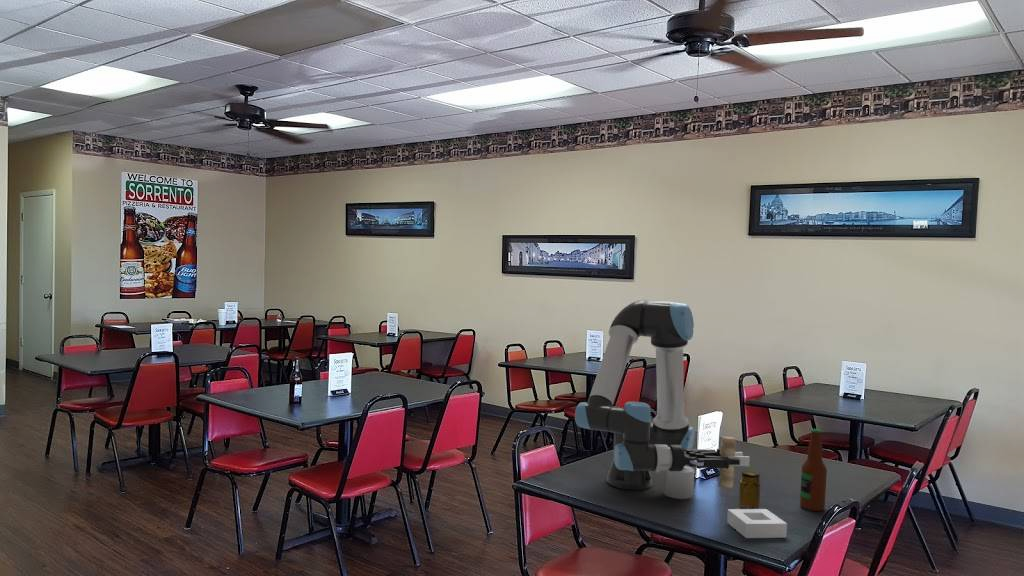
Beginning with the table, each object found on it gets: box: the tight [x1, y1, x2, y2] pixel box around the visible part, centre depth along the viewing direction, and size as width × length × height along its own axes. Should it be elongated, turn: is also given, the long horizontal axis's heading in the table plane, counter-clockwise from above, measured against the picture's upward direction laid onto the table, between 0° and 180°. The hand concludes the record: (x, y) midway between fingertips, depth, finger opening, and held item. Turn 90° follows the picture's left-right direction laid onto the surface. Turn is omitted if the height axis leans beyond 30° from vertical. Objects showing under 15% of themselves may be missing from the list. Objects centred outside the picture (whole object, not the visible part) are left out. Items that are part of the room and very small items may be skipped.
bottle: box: [799, 428, 828, 512], centre depth 230 cm, size 7×7×25 cm
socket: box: [726, 508, 788, 539], centre depth 208 cm, size 12×12×4 cm
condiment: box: [738, 470, 761, 509], centre depth 223 cm, size 7×8×12 cm
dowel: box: [718, 436, 737, 489], centre depth 211 cm, size 4×4×14 cm
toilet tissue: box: [663, 465, 695, 500], centre depth 240 cm, size 9×13×9 cm
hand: (745, 459), depth 212 cm, fingers closed on dowel, 4 cm apart
